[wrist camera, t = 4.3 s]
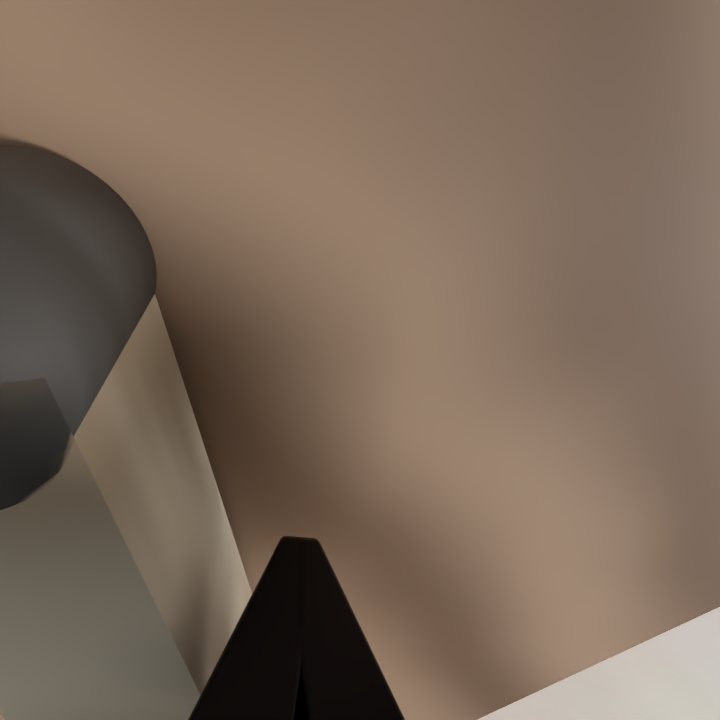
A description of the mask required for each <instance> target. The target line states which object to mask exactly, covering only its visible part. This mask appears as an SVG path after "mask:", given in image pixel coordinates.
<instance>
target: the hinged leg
mask: <svg viewBox="0 0 720 720" xmlns="http://www.w3.org/2000/svg"><path fill="white" fill-rule="evenodd" d="M156 281H157V272H156V262H155V258H154V253H153V249H152V246H151V244H150V241H149V239H148V236H147V234H146V232H145V230H144V228H143V226H142V224H141V222H140V221H139V219H138V218H137V216H136V215H135V214H134V212H133V211H132V209H131V208H130V207H129V206H128V204H127V203H126V202H125V201H124V200H123V199H122V197H121V196H120V195H119V194H118V193H117V192H115V191H114V190H113V189H112V188H111V187H110V186H109V185H108V184H107V183H105V182H104V181H103V180H101V179H100V178H99V177H97V176H96V175H95V174H93V173H92V172H90V171H89V170H87V169H85V168H84V167H82V166H80V165H79V164H77V163H74V162H72V161H70V160H68V159H66V158H64V157H61V156H59V155H56V154H53V153H50V152H47V151H43V150H39V149H34V148H29V147H22V146H10V145H8V146H0V713H1V714H2V715H3V716H4V717H5V718H6V720H188V719H189V717H190V715H191V713H192V711H193V709H194V707H195V705H196V703H197V701H198V699H199V697H200V695H201V693H202V691H203V689H204V687H205V685H206V683H207V681H208V679H209V677H210V676H211V674H212V672H213V670H214V668H215V666H216V664H217V662H218V660H219V658H220V656H221V654H222V652H223V650H224V648H225V646H226V644H227V642H228V640H229V638H230V636H231V634H232V632H233V630H234V629H235V627H236V625H237V623H238V621H239V619H240V617H241V615H242V613H243V611H244V609H245V607H246V605H247V603H248V601H249V599H250V597H251V595H252V592H251V589H250V586H249V582H248V579H247V576H246V573H245V570H244V567H243V564H242V561H241V558H240V555H239V552H238V549H237V545H236V542H235V539H234V536H233V533H232V530H231V527H230V524H229V521H228V518H227V515H226V512H225V508H224V505H223V502H222V499H221V496H220V493H219V490H218V487H217V484H216V481H215V478H214V475H213V471H212V468H211V465H210V462H209V459H208V456H207V453H206V450H205V447H204V444H203V441H202V437H201V434H200V431H199V428H198V425H197V422H196V419H195V416H194V413H193V410H192V407H191V404H190V400H189V397H188V394H187V391H186V388H185V385H184V382H183V379H182V376H181V373H180V370H179V367H178V363H177V360H176V357H175V354H174V351H173V348H172V345H171V342H170V339H169V336H168V333H167V330H166V326H165V323H164V320H163V317H162V314H161V311H160V308H159V305H158V302H157V299H156V296H155V291H156Z"/></svg>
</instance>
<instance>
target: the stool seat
mask: <svg viewBox="0 0 720 720" xmlns="http://www.w3.org/2000/svg"><path fill="white" fill-rule="evenodd" d="M8 145H10V146H22V147H29V148H34V149H39V150H43V151H47V152H50V153H53V154H56V155H59V156H61V157H64V158H66V159H68V160H70V161H72V162H74V163H77V164H79V165H80V166H82V167H84V168H85V169H87V170H89V171H90V172H92V173H93V174H95V175H96V176H97V177H99V178H100V179H101V180H103V181H104V182H105V183H107V184H108V185H109V186H110V187H111V188H112V189H113V190H114V191H115V192H117V193H118V194H119V195H120V196H121V197H122V199H123V200H124V201H125V202H126V203H127V204H128V206H129V207H130V208H131V209H132V211H133V212H134V214H135V215H136V216H137V218H138V219H139V221H140V222H141V224H142V226H143V228H144V230H145V232H146V234H147V236H148V239H149V241H150V244H151V246H152V249H153V253H154V258H155V262H156V272H157V281H156V291H155V296H156V299H157V302H158V305H159V308H160V311H161V314H162V317H163V320H164V323H165V326H166V330H167V333H168V336H169V339H170V342H171V345H172V348H173V351H174V354H175V357H176V360H177V363H178V367H179V370H180V373H181V376H182V379H183V382H184V385H185V388H186V391H187V394H188V397H189V400H190V404H191V407H192V410H193V413H194V416H195V419H196V422H197V425H198V428H199V431H200V434H201V437H202V441H203V444H204V447H205V450H206V453H207V456H208V459H209V462H210V465H211V468H212V471H213V475H214V478H215V481H216V484H217V487H218V490H219V493H220V496H221V499H222V502H223V505H224V508H225V512H226V515H227V518H228V521H229V524H230V527H231V530H232V533H233V536H234V539H235V542H236V545H237V549H238V552H239V555H240V558H241V561H242V564H243V567H244V570H245V573H246V576H247V579H248V582H249V586H250V589H251V592H252V593H253V591H254V589H255V587H256V585H257V583H258V582H259V580H260V578H261V576H262V574H263V572H264V570H265V568H266V566H267V564H268V562H269V560H270V558H271V556H272V554H273V552H274V550H275V548H276V546H277V544H278V542H279V541H280V539H281V538H282V537H283V536H295V537H307V538H316V539H317V540H319V542H320V543H321V545H322V547H323V549H324V552H325V554H326V556H327V558H328V560H329V562H330V564H331V566H332V568H333V570H334V572H335V574H336V577H337V579H338V581H339V583H340V585H341V587H342V589H343V591H344V593H345V595H346V597H347V600H348V602H349V604H350V606H351V608H352V610H353V612H354V614H355V616H356V618H357V620H358V622H359V625H360V627H361V629H362V631H363V633H364V635H365V637H366V639H367V641H368V643H369V645H370V647H371V650H372V652H373V654H374V656H375V658H376V660H377V662H378V664H379V666H380V668H381V670H382V672H383V675H384V677H385V679H386V681H387V683H388V685H389V687H390V689H391V691H392V693H393V695H394V698H395V700H396V702H397V704H398V706H399V708H400V710H401V712H402V714H403V716H404V718H405V720H477V719H479V718H481V717H483V716H485V715H487V714H490V713H492V712H494V711H496V710H498V709H500V708H502V707H505V706H507V705H509V704H511V703H513V702H515V701H517V700H520V699H522V698H524V697H526V696H528V695H530V694H533V693H535V692H537V691H539V690H541V689H543V688H545V687H548V686H550V685H552V684H554V683H556V682H558V681H561V680H563V679H565V678H567V677H569V676H571V675H573V674H576V673H578V672H580V671H582V670H584V669H586V668H589V667H591V666H593V665H595V664H597V663H599V662H601V661H604V660H606V659H608V658H610V657H612V656H614V655H616V654H619V653H621V652H623V651H625V650H627V649H629V648H632V647H634V646H636V645H638V644H640V643H642V642H644V641H647V640H649V639H651V638H653V637H655V636H657V635H660V634H662V633H664V632H666V631H668V630H670V629H672V628H675V627H677V626H679V625H681V624H683V623H685V622H688V621H690V620H692V619H694V618H696V617H698V616H700V615H703V614H705V613H707V612H709V611H711V610H713V609H716V608H718V607H720V0H0V146H8ZM0 720H6V718H5V717H4V716H3V715H2V714H1V713H0Z"/></svg>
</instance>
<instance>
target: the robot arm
mask: <svg viewBox="0 0 720 720" xmlns="http://www.w3.org/2000/svg"><path fill="white" fill-rule="evenodd" d="M188 720H405V718H404V716H403V714H402V712H401V710H400V708H399V706H398V704H397V702H396V700H395V698H394V695H393V693H392V691H391V689H390V687H389V685H388V683H387V681H386V679H385V677H384V675H383V672H382V670H381V668H380V666H379V664H378V662H377V660H376V658H375V656H374V654H373V652H372V650H371V647H370V645H369V643H368V641H367V639H366V637H365V635H364V633H363V631H362V629H361V627H360V625H359V622H358V620H357V618H356V616H355V614H354V612H353V610H352V608H351V606H350V604H349V602H348V600H347V597H346V595H345V593H344V591H343V589H342V587H341V585H340V583H339V581H338V579H337V577H336V574H335V572H334V570H333V568H332V566H331V564H330V562H329V560H328V558H327V556H326V554H325V552H324V549H323V547H322V545H321V543H320V542H319V540H317V539H316V538H307V537H295V536H283V537H282V538H281V539H280V541H279V542H278V544H277V546H276V548H275V550H274V552H273V554H272V556H271V558H270V560H269V562H268V564H267V566H266V568H265V570H264V572H263V574H262V576H261V578H260V580H259V582H258V583H257V585H256V587H255V589H254V591H253V593H252V595H251V597H250V599H249V601H248V603H247V605H246V607H245V609H244V611H243V613H242V615H241V617H240V619H239V621H238V623H237V625H236V627H235V629H234V630H233V632H232V634H231V636H230V638H229V640H228V642H227V644H226V646H225V648H224V650H223V652H222V654H221V656H220V658H219V660H218V662H217V664H216V666H215V668H214V670H213V672H212V674H211V676H210V677H209V679H208V681H207V683H206V685H205V687H204V689H203V691H202V693H201V695H200V697H199V699H198V701H197V703H196V705H195V707H194V709H193V711H192V713H191V715H190V717H189V719H188Z"/></svg>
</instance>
